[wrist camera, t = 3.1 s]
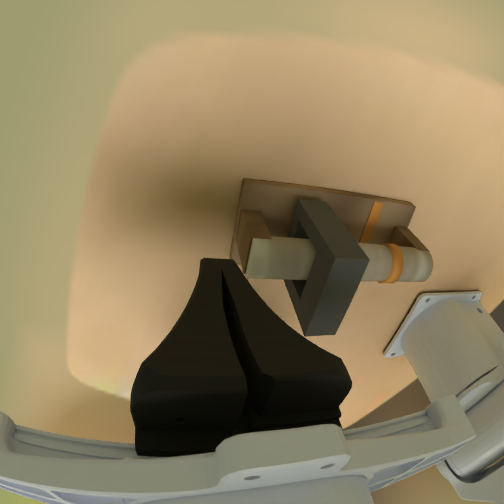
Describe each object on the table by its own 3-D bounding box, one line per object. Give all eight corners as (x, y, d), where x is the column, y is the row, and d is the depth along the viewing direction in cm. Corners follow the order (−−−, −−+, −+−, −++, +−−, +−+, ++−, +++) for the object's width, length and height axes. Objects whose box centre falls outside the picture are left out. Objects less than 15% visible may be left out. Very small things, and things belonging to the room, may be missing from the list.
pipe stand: (410, 202, 19) (451, 240, 15) (384, 265, 22) (415, 308, 18) (243, 178, 16) (259, 220, 13) (229, 257, 19) (239, 311, 16)
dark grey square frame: (326, 201, 17) (369, 259, 12) (305, 269, 19) (335, 334, 15) (297, 198, 16) (335, 257, 12) (279, 268, 19) (304, 336, 14)
